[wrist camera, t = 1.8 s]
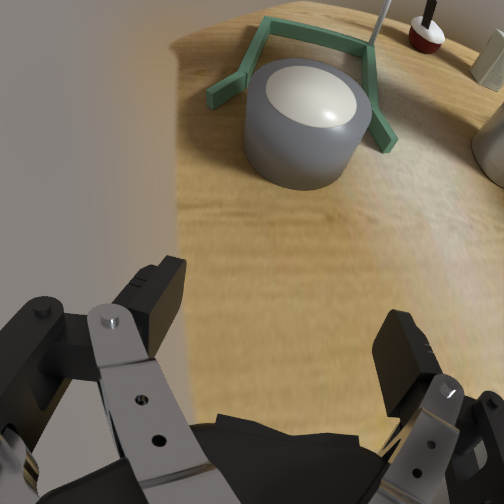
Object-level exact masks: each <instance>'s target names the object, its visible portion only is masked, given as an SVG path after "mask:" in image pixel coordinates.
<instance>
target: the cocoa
mask: <svg viewBox="0 0 504 504" xmlns="http://www.w3.org/2000/svg"><path fill="white" fill-rule="evenodd" d="M436 4H437V1H436V0H427V4H426V7H425V11H424V14H423V16H419V17H416V18H413V20H412V22H411V23H412V25H411V28H410V31H409V39H410V43H411V44H412V45H413V46H414V48H416V49H417V50H419V51H420V52H423V53H427V54H431V53H434V52H435V51H436V50H437V49H438V48H439V47H440V46H441V44H442V43H443V42H445V38H444V34H443V32H442V30H441V29H440V28H439V27H438V26H437V24H436V23H435V22H433V21H432V17H433V13H434V11H435V7H436Z"/></svg>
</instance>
